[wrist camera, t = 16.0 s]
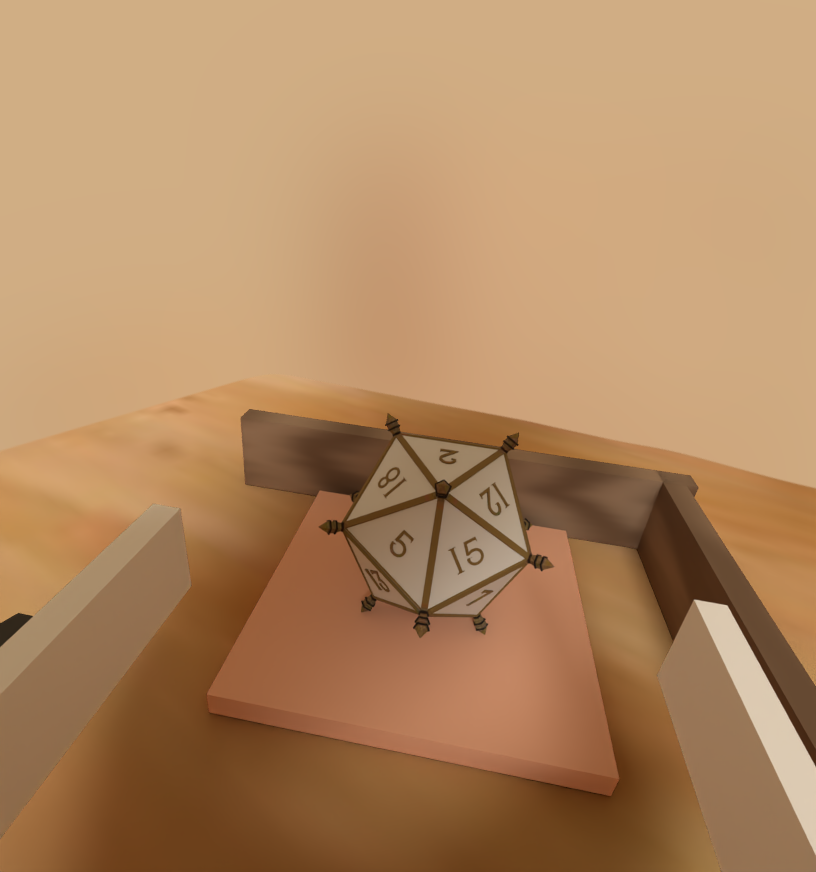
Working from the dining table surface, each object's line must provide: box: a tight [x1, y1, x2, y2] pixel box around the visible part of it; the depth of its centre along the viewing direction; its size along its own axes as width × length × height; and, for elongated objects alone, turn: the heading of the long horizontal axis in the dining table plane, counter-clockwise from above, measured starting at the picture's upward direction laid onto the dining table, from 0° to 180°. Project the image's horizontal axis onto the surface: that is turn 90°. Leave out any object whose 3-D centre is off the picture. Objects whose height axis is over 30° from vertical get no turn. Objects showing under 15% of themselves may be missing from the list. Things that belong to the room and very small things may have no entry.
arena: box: [241, 409, 816, 766], centre depth 22 cm, size 25×17×4 cm
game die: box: [319, 414, 554, 638], centre depth 20 cm, size 9×8×10 cm
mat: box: [206, 491, 619, 796], centre depth 23 cm, size 14×13×1 cm
